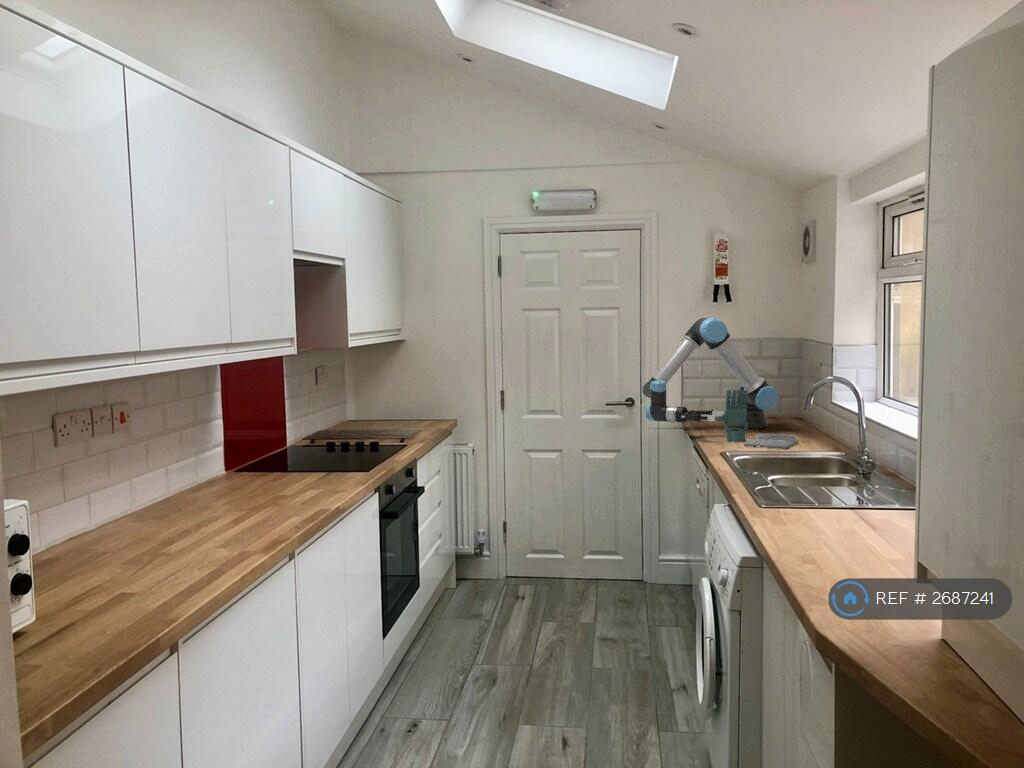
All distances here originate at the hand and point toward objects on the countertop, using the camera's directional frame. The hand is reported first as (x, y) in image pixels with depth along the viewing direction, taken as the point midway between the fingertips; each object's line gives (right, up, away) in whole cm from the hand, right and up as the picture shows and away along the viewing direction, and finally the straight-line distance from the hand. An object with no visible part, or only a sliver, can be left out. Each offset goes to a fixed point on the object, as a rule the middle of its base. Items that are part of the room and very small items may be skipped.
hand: (720, 416), depth 371 cm
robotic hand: (+5, -11, -2) cm, 12 cm away
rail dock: (+18, -12, -16) cm, 27 cm away
